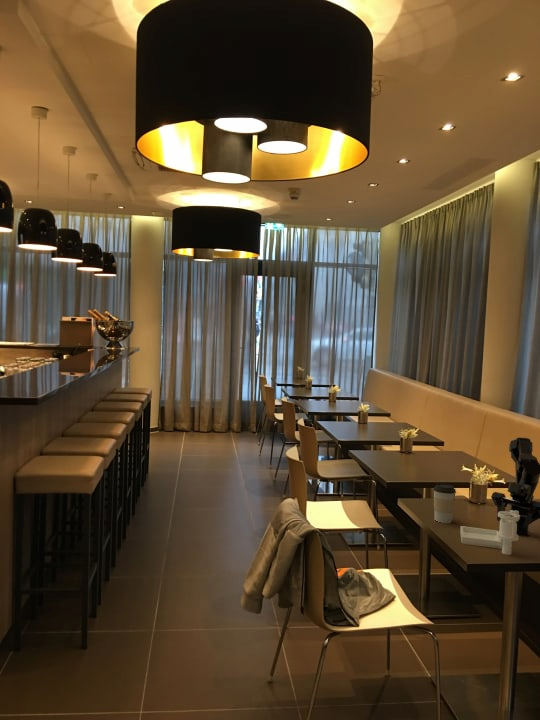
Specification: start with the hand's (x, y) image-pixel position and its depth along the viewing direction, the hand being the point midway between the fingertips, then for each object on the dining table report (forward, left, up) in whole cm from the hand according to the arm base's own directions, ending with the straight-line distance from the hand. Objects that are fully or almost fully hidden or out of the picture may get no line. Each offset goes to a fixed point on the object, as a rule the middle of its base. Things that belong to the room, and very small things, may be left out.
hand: (510, 523), depth 205 cm
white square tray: (-10, -9, -10) cm, 17 cm away
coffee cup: (-30, -22, -10) cm, 39 cm away
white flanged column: (+1, -1, -10) cm, 11 cm away
